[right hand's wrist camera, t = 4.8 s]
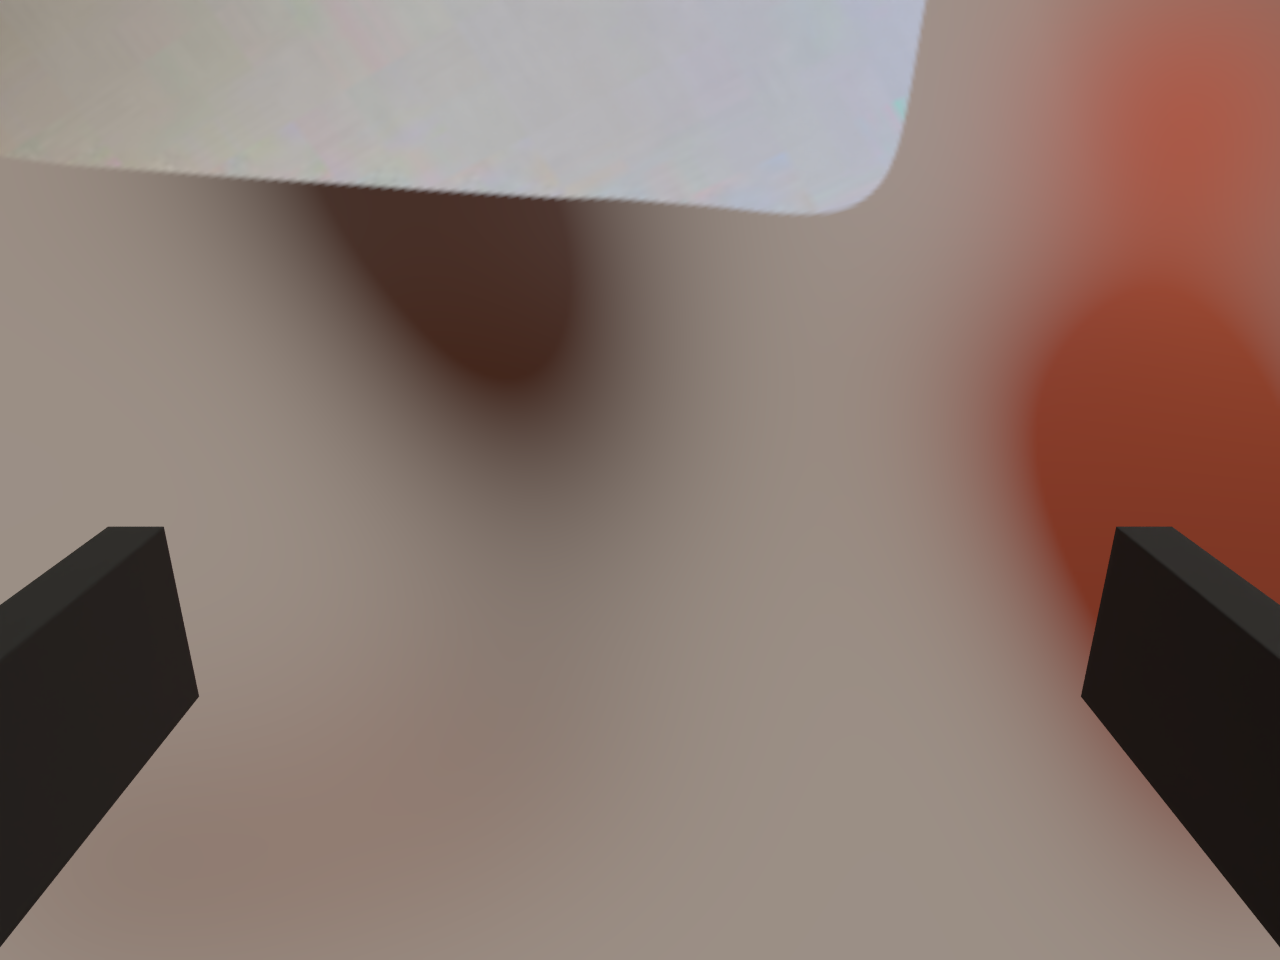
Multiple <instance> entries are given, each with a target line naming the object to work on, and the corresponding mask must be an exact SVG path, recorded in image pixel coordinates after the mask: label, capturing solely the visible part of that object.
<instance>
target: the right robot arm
mask: <svg viewBox="0 0 1280 960" xmlns="http://www.w3.org/2000/svg"><path fill="white" fill-rule="evenodd" d="M198 697H199V694H198V689H197V685H196V680H195V675H194V670H193V666H192V661H191V656H190V651H189V646H188V641H187V637H186V632H185V627H184V622H183V617H182V613H181V608H180V603H179V598H178V593H177V588H176V584H175V579H174V574H173V569H172V565H171V560H170V555H169V550H168V545H167V540H166V536H165V531H164V527H107V528H106V529H104V530H103V531H102V532H100V533H99V534H98V535H96V536H95V537H93V538H92V539H91V540H89V541H88V542H86V543H85V544H84V545H82V546H81V547H80V548H78V549H77V550H75V551H74V552H73V553H71V554H70V555H69V556H67V557H66V558H64V559H63V560H62V561H60V562H59V563H58V564H56V565H55V566H53V567H52V568H51V569H49V570H48V571H46V572H45V573H44V574H42V575H41V576H40V577H38V578H37V579H35V580H34V581H33V582H31V583H30V584H29V585H27V586H26V587H24V588H23V589H22V590H20V591H19V592H18V593H16V594H15V595H13V596H12V597H11V598H9V599H8V600H7V601H5V602H4V603H3V604H1V605H0V947H1V945H2V944H3V943H4V942H5V940H6V939H7V938H8V936H9V935H10V934H11V933H12V931H13V930H14V929H15V928H16V926H17V925H18V924H19V923H20V921H21V920H22V919H23V918H24V916H25V915H26V914H27V912H28V911H29V910H30V909H31V907H32V906H33V905H34V904H35V902H36V901H37V900H38V899H39V897H40V896H41V895H42V894H43V892H44V891H45V890H46V889H47V887H48V886H49V885H50V884H51V882H52V881H53V880H54V878H55V877H56V876H57V875H58V873H59V872H60V871H61V870H62V868H63V867H64V866H65V865H66V863H67V862H68V861H69V860H70V858H71V857H72V856H73V855H74V853H75V852H76V851H77V850H78V848H79V847H80V846H81V844H82V843H83V842H84V841H85V839H86V838H87V837H88V836H89V834H90V833H91V832H92V831H93V829H94V828H95V827H96V825H97V824H98V823H99V822H100V821H101V819H102V818H103V817H104V815H105V814H106V813H107V812H108V810H109V809H110V808H111V807H112V805H113V804H114V803H115V802H116V800H117V799H118V798H119V796H120V795H121V794H122V793H123V791H124V790H125V789H126V788H127V787H128V785H129V784H130V783H131V781H132V780H133V779H134V778H135V776H136V775H137V774H138V773H139V771H140V770H141V769H142V768H143V766H144V765H145V764H146V763H147V761H148V760H149V759H150V758H151V756H152V755H153V754H154V752H155V751H156V750H157V749H158V747H159V746H160V745H161V744H162V742H163V741H164V740H165V739H166V737H167V736H168V735H169V734H170V732H171V731H172V730H173V729H174V727H175V726H176V725H177V723H178V722H179V721H180V720H181V718H182V717H183V716H184V715H185V713H186V712H187V711H188V710H189V708H190V707H191V706H192V705H193V703H194V702H195V701H196V699H197V698H198ZM1081 697H1082V698H1083V700H1084V701H1085V702H1086V703H1087V705H1088V706H1089V707H1090V708H1091V710H1092V711H1093V712H1094V713H1095V715H1096V716H1097V717H1098V718H1099V720H1100V721H1101V722H1102V723H1103V725H1104V726H1105V727H1106V729H1107V730H1108V731H1109V732H1110V734H1111V735H1112V736H1113V737H1114V739H1115V740H1116V741H1117V742H1118V744H1119V745H1120V746H1121V747H1122V749H1123V750H1124V751H1125V752H1126V754H1127V755H1128V756H1129V758H1130V759H1131V760H1132V761H1133V763H1134V764H1135V765H1136V766H1137V768H1138V769H1139V770H1140V771H1141V773H1142V774H1143V775H1144V776H1145V778H1146V779H1147V780H1148V781H1149V783H1150V784H1151V785H1152V786H1153V788H1154V789H1155V790H1156V792H1157V793H1158V794H1159V795H1160V797H1161V798H1162V799H1163V800H1164V802H1165V803H1166V804H1167V805H1168V807H1169V808H1170V809H1171V810H1172V812H1173V813H1174V814H1175V815H1176V817H1177V818H1178V819H1179V821H1180V822H1181V823H1182V824H1183V826H1184V827H1185V828H1186V829H1187V831H1188V832H1189V833H1190V834H1191V836H1192V837H1193V838H1194V839H1195V841H1196V842H1197V843H1198V844H1199V846H1200V847H1201V848H1202V850H1203V851H1204V852H1205V853H1206V855H1207V856H1208V857H1209V858H1210V860H1211V861H1212V862H1213V863H1214V865H1215V866H1216V867H1217V868H1218V870H1219V871H1220V872H1221V873H1222V875H1223V876H1224V877H1225V878H1226V880H1227V881H1228V882H1229V884H1230V885H1231V886H1232V887H1233V889H1234V890H1235V891H1236V892H1237V894H1238V895H1239V896H1240V897H1241V899H1242V900H1243V901H1244V902H1245V904H1246V905H1247V906H1248V908H1249V909H1250V910H1251V911H1252V913H1253V914H1254V915H1255V916H1256V918H1257V919H1258V920H1259V921H1260V923H1261V924H1262V925H1263V926H1264V928H1265V929H1266V930H1267V931H1268V933H1269V934H1270V935H1271V936H1272V938H1273V939H1274V940H1275V942H1276V943H1277V944H1278V945H1279V947H1280V605H1279V604H1278V603H1276V602H1275V601H1273V600H1272V599H1271V598H1269V597H1268V596H1266V595H1265V594H1264V593H1262V592H1261V591H1260V590H1258V589H1257V588H1256V587H1254V586H1253V585H1251V584H1250V583H1249V582H1247V581H1246V580H1245V579H1243V578H1242V577H1240V576H1239V575H1238V574H1236V573H1235V572H1234V571H1232V570H1231V569H1229V568H1228V567H1227V566H1225V565H1224V564H1223V563H1221V562H1220V561H1218V560H1217V559H1215V558H1214V557H1213V556H1211V555H1210V554H1209V553H1207V552H1206V551H1204V550H1203V549H1202V548H1200V547H1199V546H1198V545H1196V544H1195V543H1194V542H1192V541H1191V540H1189V539H1188V538H1187V537H1185V536H1184V535H1183V534H1181V533H1180V532H1178V531H1177V530H1176V529H1174V528H1173V527H1116V531H1115V536H1114V540H1113V545H1112V550H1111V555H1110V560H1109V564H1108V569H1107V574H1106V579H1105V584H1104V589H1103V593H1102V598H1101V603H1100V608H1099V613H1098V617H1097V622H1096V627H1095V632H1094V637H1093V641H1092V646H1091V651H1090V656H1089V661H1088V665H1087V670H1086V675H1085V680H1084V685H1083V689H1082V695H1081Z"/></svg>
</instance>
